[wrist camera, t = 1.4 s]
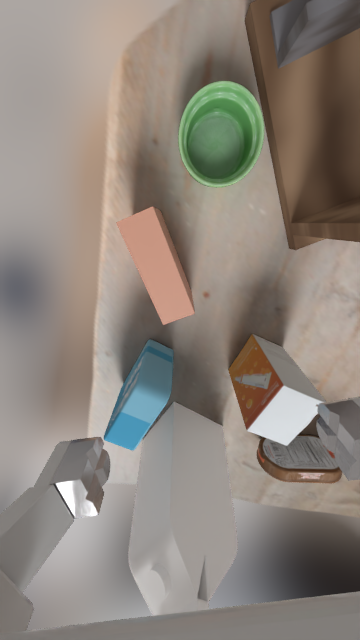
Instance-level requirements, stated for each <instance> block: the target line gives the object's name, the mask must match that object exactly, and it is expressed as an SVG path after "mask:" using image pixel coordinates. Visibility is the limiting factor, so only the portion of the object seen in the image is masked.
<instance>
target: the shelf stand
mask: <svg viewBox="0 0 360 640" xmlns="http://www.w3.org/2000/svg"><path fill="white" fill-rule="evenodd" d="M245 24H246V30H247V35H248V40H249V45H250V50H251V55H252V60H253V65H254V70H255V76H256V81H257V86H258V91H259V96H260V101H261V106H262V111H263V117H264V122H265V127H266V132H267V137H268V142H269V147H270V152H271V157H272V163H273V168H274V173H275V178H276V183H277V188H278V193H279V198H280V204H281V209H282V214H283V219H284V224H285V229H286V234H287V239H288V245H289V248H290V249H294V250H297V249H300V248H302V247H305V246H308V245H310V244H313V243H316V242H318V241H321V240H324V239H336V240H345V241H354V242H360V0H255V1H254V2H252V3H250V6H249V9H248V12H247V15H246V18H245Z"/></svg>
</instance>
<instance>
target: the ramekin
mask: <svg viewBox="0 0 360 640" xmlns="http://www.w3.org/2000/svg"><path fill="white" fill-rule="evenodd" d="M263 140H264V120H263V115H262V112H261V109H260V106H259V104H258V102H257V100H256V99H255V97H254V96H253V95H252V93H251V92H250V91H249V90H248V89H246V88H245V87H244V86H242V85H240V84H238V83H235V82H232V81H217V82H213V83H210V84H208V85H206V86H204V87H203V88H201V89H200V90H199V91H198V92H196V93H195V95H194V96H193V97H192V98H191V99H190V101H189V102H188V104H187V106H186V108H185V110H184V112H183V114H182V117H181V121H180V125H179V133H178V144H179V151H180V155H181V158H182V161H183V163H184V165H185V167H186V169H187V170H188V172H189V173H190V175H191V176H192V177H193V178H194V179H195V180H196V181H197V182H199V183H200V184H203V185H205V186H209V187H225V186H229V185H232V184H234V183H236V182H238V181H239V180H241V179H242V178H243V177H245V176H246V175H247V174H248V173H249V172H250V170H251V169H252V168H253V166H254V165H255V163H256V161H257V159H258V157H259V155H260V152H261V149H262V145H263Z"/></svg>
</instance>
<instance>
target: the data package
mask: <svg viewBox="0 0 360 640" xmlns="http://www.w3.org/2000/svg"><path fill="white" fill-rule="evenodd" d="M173 359H174V351H173V350H172V349H170V348H168V347H166V346H164V345H162V344H160V343H158V342H156V341H153V340H151V339H149V340H148V341H147V343H146V345H145V347H144V348H143V350H142V352H141V354H140V355H139V357H138V359H137V361H136V363H135V364H134V366H133V368H132V370H131V371H130V373H129V375H128V377H127V378H126V380H125V382H124V384H123V386H122V388H121V391H120V393H119V396H118V399H117V402H116V404H115V407H114V410H113V413H112V416H111V418H110V421H109V424H108V427H107V429H106V432H105V435H104V440H106V441H108V442H111V443H114V444H116V445H119V446H122V447H124V448H127V449H130V450H135V449H136V447H137V446H138V444H139V443H140V442H141V440H142V439H143V437H144V436H145V434H146V433H147V431H148V430H149V428H150V427H151V425H152V424H153V423H154V421H155V420H156V418H157V417H158V415H159V414H160V412H161V411H162V409H163V408H164V407H165V405H166V403H167V402H168V400H169V397H170V394H171V391H172V376H173Z"/></svg>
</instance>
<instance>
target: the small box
mask: <svg viewBox="0 0 360 640" xmlns="http://www.w3.org/2000/svg"><path fill="white" fill-rule="evenodd" d="M228 370H229V374H230V377H231V380H232V383H233V387H234V390H235V393H236V397H237V400H238V403H239V406H240V409H241V413H242V416H243V419H244V423H245V426H246V429H247V431H249V432H252V433H254V434H257V435H260V436H262V437H265V438H268V439H270V440H273V441H276V442H278V443H281V444H283V445H286V446H287V445H288V444H289V443H290V442H291V441H292V440H293V439H294V438H295V437H296V436H297V435H298V434H299V433H300V432H301V431H302V430H303V429H304V428H305V427H306V426H307V425H308V424H309V423H310V422H311V420H312V419H313V418H314V417H315V416H316V415H317V414H318V412H317V409H318V405H319V403H324V402H326V400H325V399H324V398H323V397H322V395H321V394H320V393H319V392H318V391H317V389H316V388H315V387H314V386H313V384H312V383H311V382H310V381H309V379H308V378H307V377H306V376H305V374H304V373H303V372H302V371H301V369H300V368H299V367H298V365H297V364H296V363H295V362H294V360H293V359H292V358H291V357H290V356H289V354H288V353H287V352H286V351H285V349H284V348H283V347H281V346H279V345H276V344H274V343H272V342H270V341H267V340H265V339H263V338H261V337H258V336H256V335H254V334H251V336H250V338H249V339H248V341H247V343H246V344H245V346H244V347H243V349H242V350H241V352H240V353H239V355H238V356H237V358H236V359H235V361H234V362H233V363H232V365H231V366H230V368H229V369H228Z"/></svg>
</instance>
